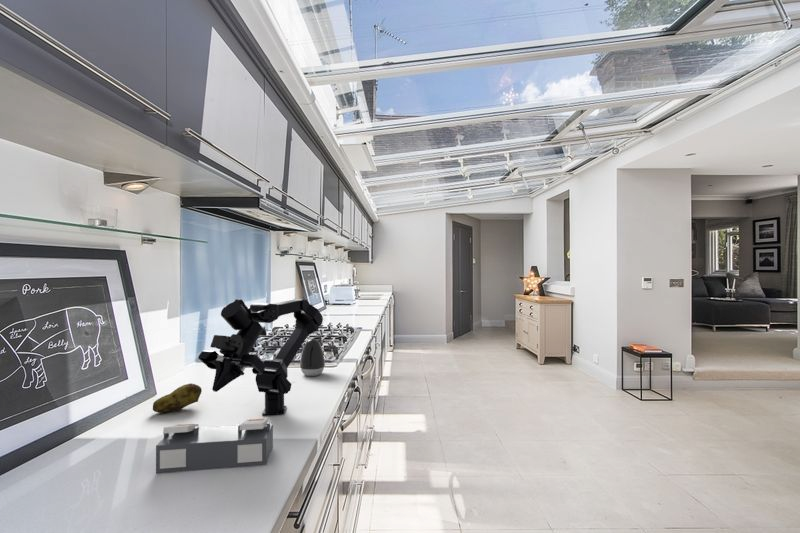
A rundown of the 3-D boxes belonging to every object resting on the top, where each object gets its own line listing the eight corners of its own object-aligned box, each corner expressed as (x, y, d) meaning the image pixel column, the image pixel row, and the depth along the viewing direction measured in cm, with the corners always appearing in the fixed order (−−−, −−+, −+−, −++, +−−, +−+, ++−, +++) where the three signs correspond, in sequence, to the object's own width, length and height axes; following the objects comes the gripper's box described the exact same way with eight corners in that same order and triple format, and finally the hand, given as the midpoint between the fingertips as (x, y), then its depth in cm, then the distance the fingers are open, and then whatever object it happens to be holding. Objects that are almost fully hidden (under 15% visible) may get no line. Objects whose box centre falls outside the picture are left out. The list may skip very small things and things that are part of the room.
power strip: (173, 454, 94) (173, 421, 94) (272, 447, 98) (272, 415, 98) (155, 474, 85) (155, 437, 85) (266, 465, 89) (266, 430, 89)
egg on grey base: (330, 373, 167) (330, 337, 167) (312, 379, 158) (312, 341, 158) (312, 370, 172) (312, 335, 173) (294, 375, 164) (294, 339, 164)
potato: (161, 407, 127) (161, 382, 127) (204, 405, 129) (204, 380, 129) (149, 416, 118) (149, 390, 118) (195, 414, 120) (195, 388, 120)
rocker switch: (246, 424, 96) (246, 419, 96) (267, 423, 96) (268, 418, 97) (239, 430, 89) (239, 424, 89) (262, 428, 90) (262, 422, 90)
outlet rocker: (175, 430, 93) (176, 424, 93) (197, 429, 94) (198, 423, 94) (162, 433, 86) (163, 427, 87) (187, 432, 87) (188, 425, 88)
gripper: (203, 321, 109) (167, 371, 99) (257, 324, 102) (224, 378, 92) (225, 344, 116) (194, 392, 106) (277, 348, 110) (249, 400, 99)
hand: (214, 390), depth 101 cm, fingers closed
